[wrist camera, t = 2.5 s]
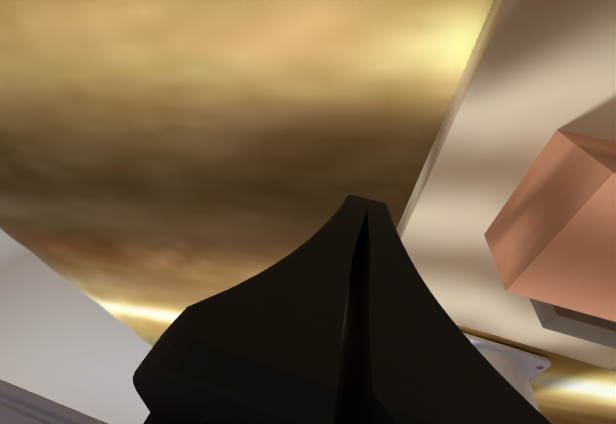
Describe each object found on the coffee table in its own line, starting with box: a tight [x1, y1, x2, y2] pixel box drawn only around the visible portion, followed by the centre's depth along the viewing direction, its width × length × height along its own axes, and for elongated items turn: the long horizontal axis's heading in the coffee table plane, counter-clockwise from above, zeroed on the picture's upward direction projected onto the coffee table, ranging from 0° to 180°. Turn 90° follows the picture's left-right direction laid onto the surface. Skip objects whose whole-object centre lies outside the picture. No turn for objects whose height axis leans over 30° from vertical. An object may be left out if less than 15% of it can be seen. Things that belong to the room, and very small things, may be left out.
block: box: [484, 130, 616, 322], centre depth 12 cm, size 6×6×4 cm
